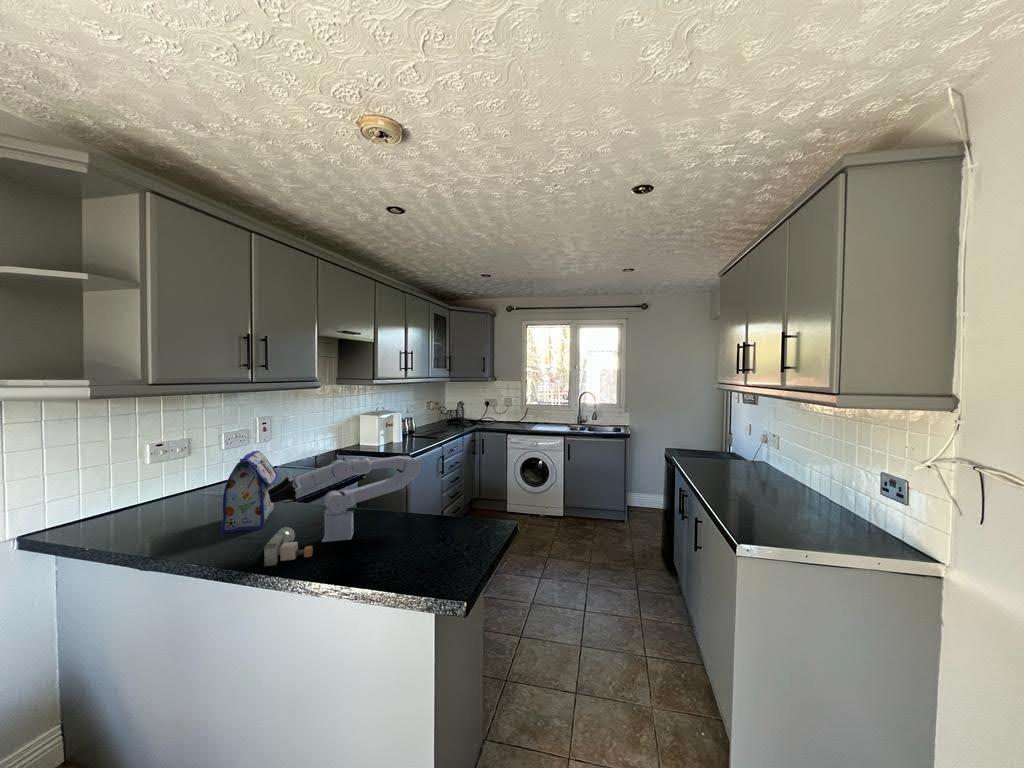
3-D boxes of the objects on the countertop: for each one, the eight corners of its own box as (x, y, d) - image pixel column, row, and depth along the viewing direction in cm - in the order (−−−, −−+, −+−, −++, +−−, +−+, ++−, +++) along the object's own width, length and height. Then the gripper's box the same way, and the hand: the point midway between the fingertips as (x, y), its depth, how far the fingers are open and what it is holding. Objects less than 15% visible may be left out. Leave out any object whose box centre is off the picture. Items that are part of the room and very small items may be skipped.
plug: (313, 552, 135) (313, 540, 135) (310, 557, 131) (310, 544, 131) (284, 555, 133) (283, 543, 133) (280, 560, 129) (280, 547, 129)
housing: (295, 543, 143) (294, 526, 143) (280, 564, 127) (280, 545, 127) (276, 545, 142) (276, 528, 142) (259, 566, 125) (259, 547, 125)
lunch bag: (271, 528, 158) (270, 457, 158) (219, 534, 152) (218, 460, 152) (280, 511, 179) (279, 448, 179) (234, 516, 173) (233, 451, 173)
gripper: (306, 464, 149) (263, 480, 142) (312, 473, 137) (266, 490, 130) (312, 483, 151) (271, 499, 144) (319, 492, 139) (274, 511, 132)
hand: (269, 496), depth 137 cm, fingers open, 7 cm apart
